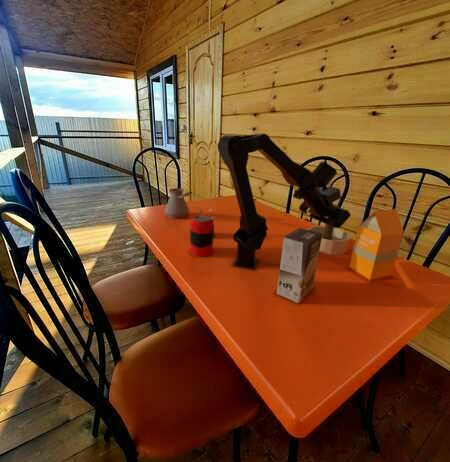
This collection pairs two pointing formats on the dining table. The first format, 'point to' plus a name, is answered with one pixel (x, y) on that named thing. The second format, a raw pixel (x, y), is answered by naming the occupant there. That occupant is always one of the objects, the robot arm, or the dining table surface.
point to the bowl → (333, 241)
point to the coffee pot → (177, 204)
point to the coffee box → (298, 264)
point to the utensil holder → (209, 217)
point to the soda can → (201, 236)
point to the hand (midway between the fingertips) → (332, 225)
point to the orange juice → (377, 244)
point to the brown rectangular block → (329, 228)
